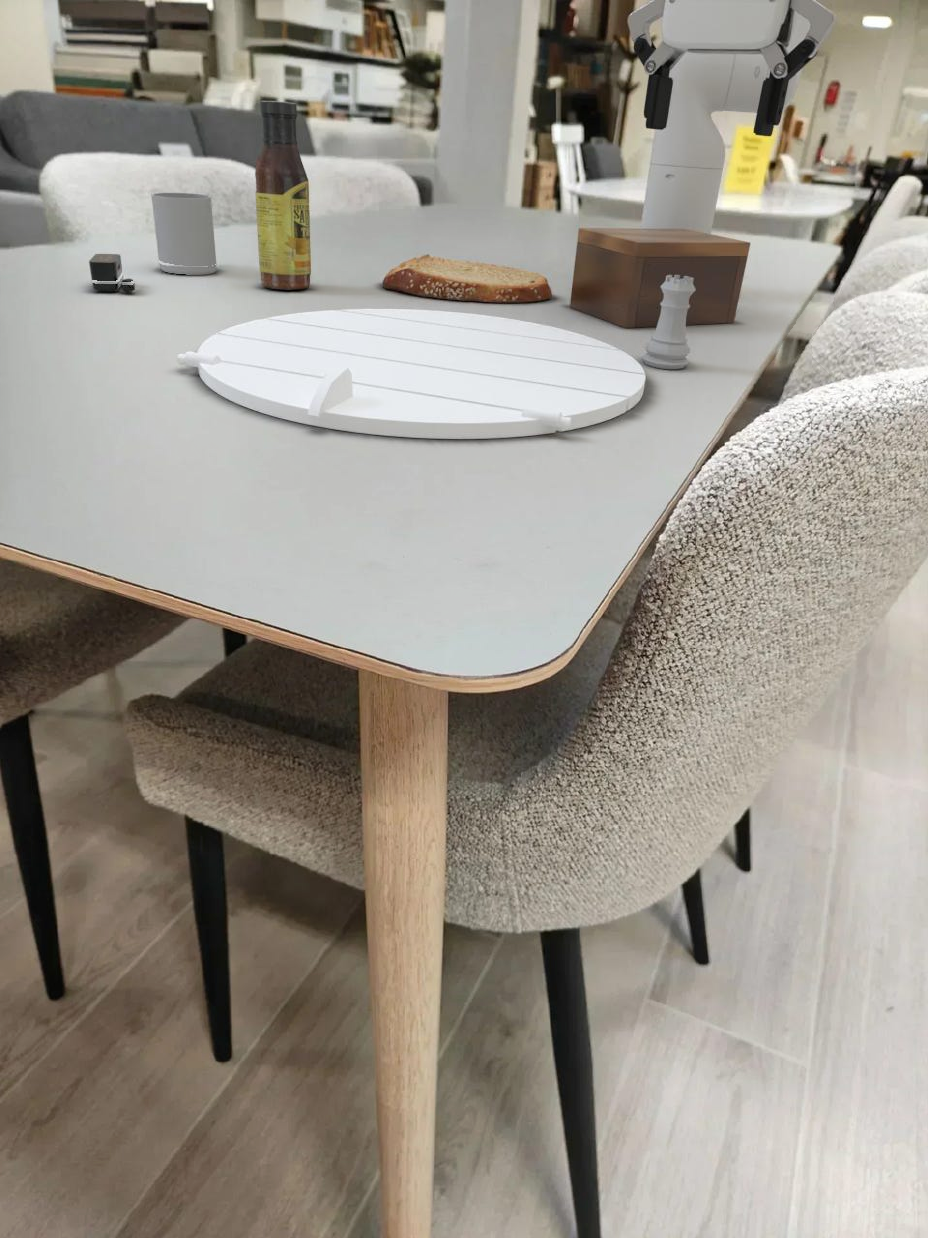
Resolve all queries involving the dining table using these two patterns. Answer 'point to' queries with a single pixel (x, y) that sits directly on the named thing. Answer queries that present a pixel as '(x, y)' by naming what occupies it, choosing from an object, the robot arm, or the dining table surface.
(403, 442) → the dining table surface
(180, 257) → the cup
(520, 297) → the slice of bread
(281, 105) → the sauce bottle
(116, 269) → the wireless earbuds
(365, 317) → the lazy susan
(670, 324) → the rook chess piece
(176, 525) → the dining table surface
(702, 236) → the wooden box
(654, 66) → the robot arm
